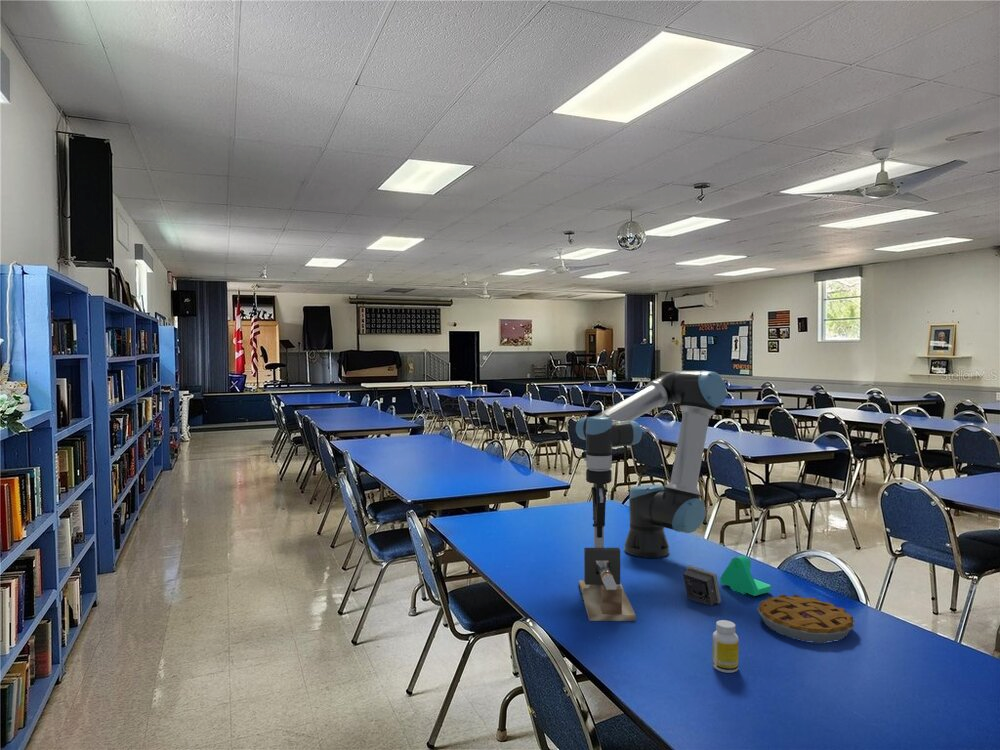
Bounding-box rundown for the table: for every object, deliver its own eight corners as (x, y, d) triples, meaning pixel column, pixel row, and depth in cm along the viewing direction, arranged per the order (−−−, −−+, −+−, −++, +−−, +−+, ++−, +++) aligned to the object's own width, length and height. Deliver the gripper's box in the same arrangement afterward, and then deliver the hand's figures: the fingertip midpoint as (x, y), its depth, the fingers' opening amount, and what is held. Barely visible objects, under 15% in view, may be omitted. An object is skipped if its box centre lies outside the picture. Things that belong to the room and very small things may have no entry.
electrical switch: (721, 603, 173) (720, 571, 172) (711, 610, 170) (709, 577, 169) (692, 593, 181) (690, 562, 180) (681, 600, 177) (679, 568, 177)
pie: (739, 618, 164) (739, 599, 164) (799, 604, 173) (800, 586, 173) (810, 654, 144) (810, 633, 144) (874, 636, 153) (874, 616, 153)
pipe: (604, 564, 187) (604, 553, 187) (618, 595, 163) (618, 583, 163) (593, 564, 187) (593, 553, 187) (605, 595, 163) (605, 583, 163)
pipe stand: (619, 585, 187) (619, 558, 187) (635, 620, 162) (635, 590, 162) (579, 585, 188) (579, 558, 187) (589, 620, 163) (589, 590, 162)
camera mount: (772, 594, 180) (772, 559, 180) (754, 599, 176) (754, 563, 176) (737, 581, 191) (738, 547, 190) (720, 586, 187) (720, 552, 186)
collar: (618, 581, 182) (618, 547, 182) (620, 584, 180) (620, 550, 179) (584, 581, 182) (584, 547, 182) (585, 584, 180) (585, 550, 180)
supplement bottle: (743, 671, 136) (744, 627, 136) (722, 675, 135) (722, 630, 135) (728, 660, 142) (728, 617, 141) (707, 663, 140) (707, 620, 140)
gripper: (583, 464, 193) (583, 540, 194) (588, 472, 180) (588, 554, 181) (608, 464, 193) (608, 540, 194) (615, 472, 180) (614, 554, 181)
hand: (598, 547), depth 187 cm, fingers closed
